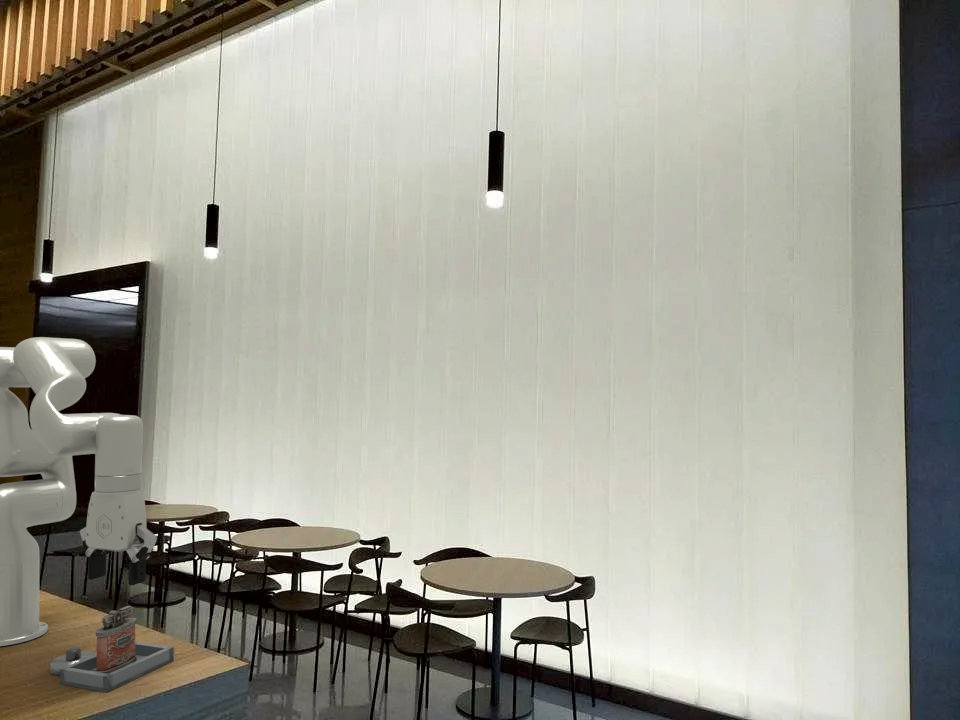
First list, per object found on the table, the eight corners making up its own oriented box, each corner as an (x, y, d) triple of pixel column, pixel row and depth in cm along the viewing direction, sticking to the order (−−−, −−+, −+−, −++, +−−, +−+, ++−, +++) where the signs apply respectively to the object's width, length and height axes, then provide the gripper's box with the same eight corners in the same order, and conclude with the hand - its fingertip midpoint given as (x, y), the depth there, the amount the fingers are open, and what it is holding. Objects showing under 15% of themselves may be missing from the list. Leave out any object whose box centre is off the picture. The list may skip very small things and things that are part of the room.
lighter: (106, 677, 117) (106, 618, 118) (90, 675, 118) (90, 617, 118) (141, 659, 125) (141, 604, 125) (126, 658, 126) (126, 603, 126)
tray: (59, 684, 116) (59, 669, 116) (129, 654, 129) (129, 640, 129) (107, 692, 112) (107, 676, 112) (173, 660, 125) (173, 647, 126)
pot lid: (41, 672, 122) (41, 654, 122) (77, 658, 128) (77, 640, 128) (69, 677, 119) (69, 658, 119) (104, 662, 126) (104, 644, 126)
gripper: (64, 484, 122) (62, 581, 122) (137, 489, 116) (135, 591, 115) (101, 479, 129) (99, 570, 129) (171, 483, 123) (170, 579, 122)
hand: (116, 580), depth 122 cm, fingers open, 9 cm apart
